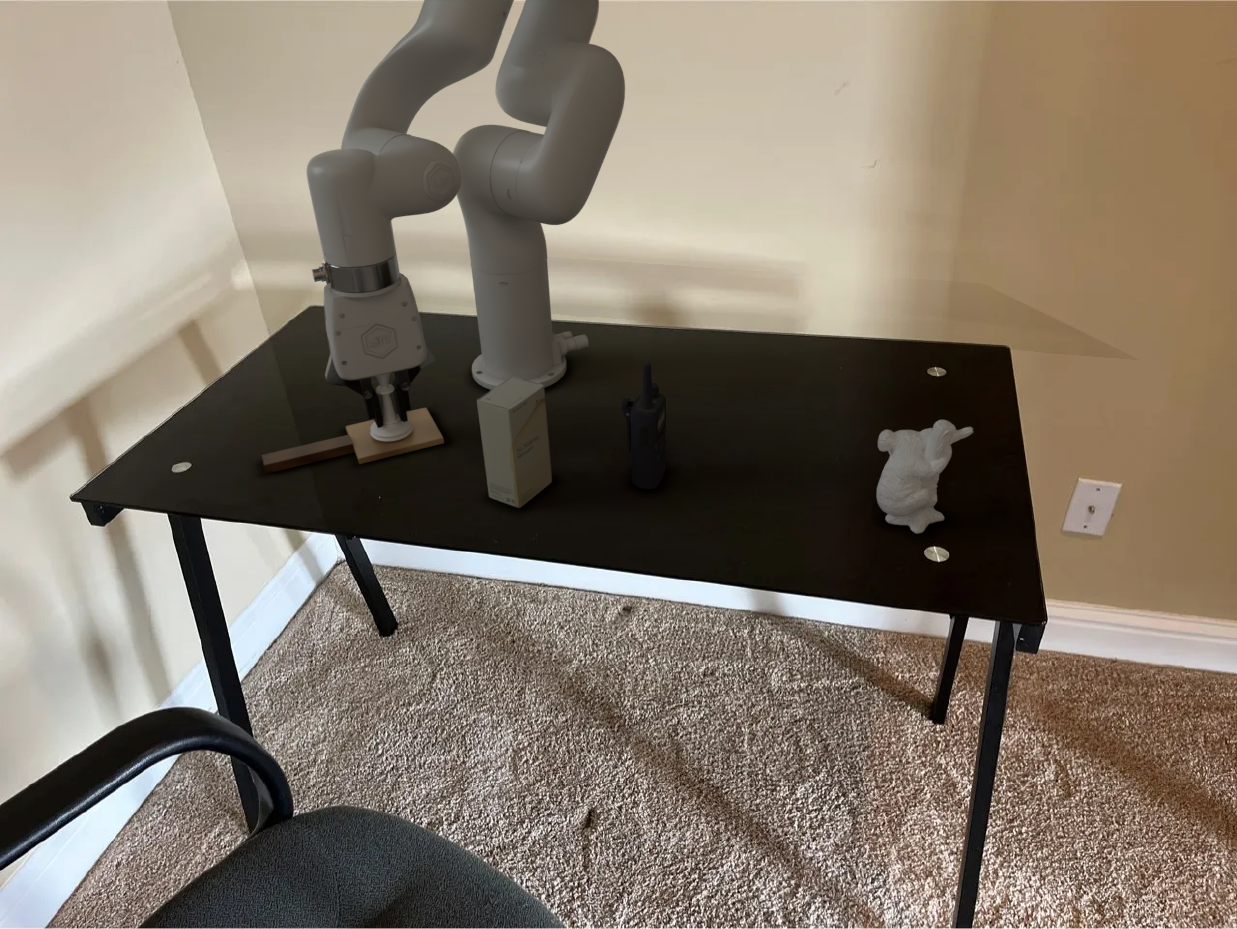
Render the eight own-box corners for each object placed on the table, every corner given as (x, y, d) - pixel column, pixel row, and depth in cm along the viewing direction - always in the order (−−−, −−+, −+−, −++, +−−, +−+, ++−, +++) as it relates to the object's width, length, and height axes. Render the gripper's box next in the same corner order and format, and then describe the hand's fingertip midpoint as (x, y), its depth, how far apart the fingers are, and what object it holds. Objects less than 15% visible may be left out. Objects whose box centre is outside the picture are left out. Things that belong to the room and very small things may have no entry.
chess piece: (402, 443, 107) (390, 366, 101) (363, 439, 108) (349, 362, 102) (419, 422, 111) (408, 347, 106) (381, 418, 112) (368, 343, 106)
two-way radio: (656, 495, 99) (656, 371, 91) (617, 488, 100) (613, 366, 92) (669, 467, 103) (670, 346, 95) (631, 461, 104) (629, 342, 96)
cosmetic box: (519, 510, 97) (509, 411, 90) (486, 498, 99) (474, 400, 93) (554, 480, 102) (546, 384, 95) (521, 469, 104) (512, 374, 97)
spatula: (427, 412, 115) (425, 404, 114) (444, 443, 109) (443, 434, 108) (260, 451, 108) (258, 443, 108) (269, 487, 102) (266, 478, 101)
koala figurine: (955, 510, 95) (977, 410, 89) (948, 548, 90) (971, 446, 84) (872, 494, 98) (887, 396, 91) (861, 530, 93) (877, 429, 86)
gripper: (291, 297, 93) (327, 451, 103) (445, 270, 98) (464, 418, 108) (281, 272, 99) (316, 420, 109) (427, 248, 104) (447, 390, 114)
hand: (390, 418), depth 108 cm, fingers closed on chess piece
